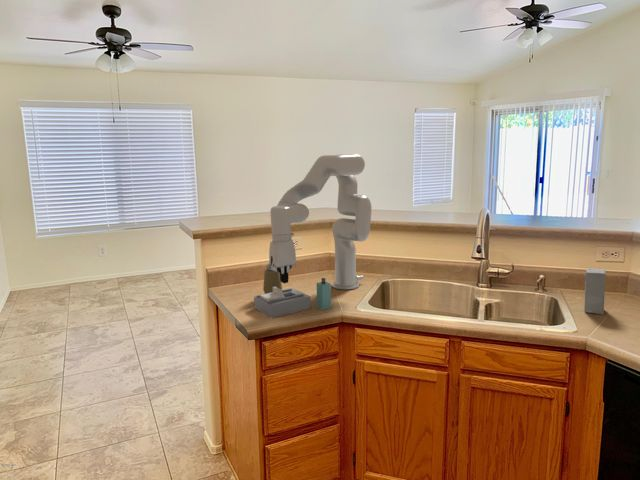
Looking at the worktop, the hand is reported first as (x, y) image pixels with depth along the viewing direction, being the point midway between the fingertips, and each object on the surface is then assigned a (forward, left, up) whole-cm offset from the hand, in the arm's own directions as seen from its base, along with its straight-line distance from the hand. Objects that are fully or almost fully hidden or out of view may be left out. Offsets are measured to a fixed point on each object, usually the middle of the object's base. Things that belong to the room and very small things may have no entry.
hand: (284, 282), depth 186 cm
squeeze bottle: (-3, -15, -11) cm, 18 cm away
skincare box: (-93, +75, -11) cm, 120 cm away
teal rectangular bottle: (-13, +9, -11) cm, 19 cm away
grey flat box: (+1, 0, -11) cm, 11 cm away
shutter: (+6, 0, -5) cm, 8 cm away
